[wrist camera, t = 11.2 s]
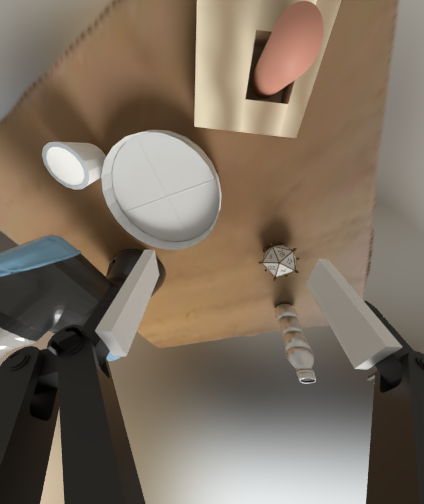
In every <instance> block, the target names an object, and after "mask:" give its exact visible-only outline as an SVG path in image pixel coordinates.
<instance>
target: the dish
mask: <svg viewBox="0 0 424 504" xmlns="http://www.w3.org/2000/svg"><path fill="white" fill-rule="evenodd" d="M101 179H102V190H103V194H104V197H105V200H106V203H107V205H108V208H109V209H110V211H111V212H112V214H113V216H114V217H115V219H116V220H117V221H118V223H119V224H120V225H121V226H122V227H123V228H124V229H125V230H126V231H127V232H128V233H130V234H131V235H132V236H134V237H135V238H136V239H138V240H140V241H142V242H144V243H146V244H148V245H150V246H153V247H157V248H160V249H168V250H178V249H185V248H188V247H191V246H193V245H196V244H198V243H199V242H200V241H202V240H203V239H204V238H206V237H207V236H208V234H209V233H210V232H211V230H212V229H213V228H214V226H215V223H216V221H217V218H218V215H219V211H220V206H221V187H220V181H219V176H218V174H217V172H216V170H215V167H214V165H213V163H212V161H211V160H210V159H209V157H208V156H207V155H206V154H205V152H204V151H203V150H202V149H201V148H200V147H199V146H198V145H196V144H195V143H194V142H192V141H191V140H190V139H188V138H187V137H185V136H183V135H180V134H177V133H175V132H172V131H167V130H147V131H143V132H139V133H136V134H132V135H129V136H125V137H124V138H123V139H122V140H120V141H119V142H118V143H117V144H115V145H114V146H113V147H112V148H111V150H110V152H109V153H108V155H107V157H106V158H105V160H104V165H103V169H102V174H101Z"/></svg>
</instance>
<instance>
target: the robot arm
mask: <svg viewBox="0 0 424 504" xmlns="http://www.w3.org/2000/svg"><path fill="white" fill-rule="evenodd" d="M165 276H166V273H165V269H164V267H163V265H162V264H161V262H160V261H159V260H158V259H156V255H155V250H144V251H141V250H136V249H127V250H123V251H120V252H118V253H117V254H116V255H115V256H114V258H113V259H112V260H111V262H110V264H109V267H108V271H107V274H106V277H105V276H104V275H103V274H102V273H101V272H100V271H99V270H98V269H97V268H96V267H95V266H93V265H92V264H91V263H90V262H89V261H88V260H87V259H86V258H85V257H84V256H83V255H82V254H81V251H80V250H77V249H75V248H74V247H73V246H72V245H71V244H69V243H68V242H67V241H66V240H65V239H63V238H62V237H59V236H55V235H49V236H44V237H41V238H38V239H35V240H32V241H30V242H27V243H25V244H22V245H20V246H17V247H14V248H12V249H9V250H7V251H5V252H2V253H0V359H1V358H2V357H3V356H4V355H5V354H7V353H8V352H9V351H10V350H12V349H14V348H17V347H21V346H25V345H28V344H33V343H35V342H37V340H39V339H40V338H41V337H42V336H43V335H44V334H45V333H46V332H47V331H51V332H53V333H55V334H54V335H53V336H52V338H51V339H50V341H49V342H48V346H47V349H43V350H39V349H38V348H37V347H33V346H30V347H24V348H22V349H20V350H18V351H16V352H14V353H13V354H12V355H10V356H9V357H8V358H7V359H6V360H5V361H4V362H3V363H2V364H1V366H0V504H40V501H41V496H42V491H43V485H44V481H45V475H46V470H47V465H48V461H49V456H50V451H51V446H52V440H53V436H54V430H55V426H56V421H57V415H58V410H59V408H60V424H61V445H62V464H63V482H64V500H65V504H145V500H144V497H143V493H142V489H141V485H140V482H139V478H138V474H137V470H136V466H135V462H134V459H133V455H132V451H131V448H130V443H129V440H128V436H127V432H126V429H125V425H124V421H123V417H122V413H121V410H120V406H119V402H118V398H117V394H116V391H115V387H114V383H113V379H112V376H111V372H110V368H109V364H108V361H113V360H116V359H118V358H120V357H121V356H126V355H127V353H128V351H129V349H130V346H131V344H132V341H133V339H134V336H135V334H136V331H137V329H138V326H139V324H140V321H141V319H142V317H143V314H144V312H145V309H146V307H147V304H148V302H149V299H150V298H151V297H152V296H153V295H154V293H155V292H156V291H157V290H158V289H159V288H160V287H161V286H162V284H163V282H164V279H165ZM306 285H307V286H308V288H309V290H310V292H311V293H312V295H313V297H314V299H315V300H316V302H317V304H318V306H319V307H320V309H321V311H322V313H323V314H324V316H325V318H326V320H327V321H328V323H329V325H330V326H331V328H332V330H333V332H334V334H335V335H336V337H337V339H338V341H339V342H340V344H341V346H342V348H343V349H344V351H345V353H346V354H347V356H348V358H349V360H350V361H351V363H352V365H353V366H354V368H355V369H369V368H371V367H372V366H374V365H375V366H376V367H377V369H378V371H377V372H375V373H373V374H372V375H370V376H368V378H367V380H369V381H370V380H372V379H374V378H375V382H373V384H375V385H374V400H373V413H372V427H371V442H370V455H369V471H368V484H367V498H366V504H424V354H422V353H420V352H416V351H414V350H413V349H412V348H411V347H410V346H409V345H408V344H407V343H406V342H405V340H404V339H403V338H402V337H401V336H400V335H399V334H398V332H397V331H396V330H395V329H394V328H393V327H392V326H391V325H390V324H389V323H388V321H387V320H386V319H385V318H384V317H383V315H382V314H381V313H380V312H379V311H378V310H377V309H376V308H375V307H374V306H372V305H371V304H370V303H369V302H367V301H363V300H362V299H361V297H360V296H359V295H358V294H357V293H356V292H355V290H354V289H353V288H352V287H351V286H350V284H349V283H348V282H347V281H346V280H345V279H344V277H343V276H342V275H341V274H340V273H339V272H338V270H337V269H336V268H335V267H334V266H333V265H332V263H331V262H330V261H329V260H328V259H318V261H317V263H316V265H315V267H314V268H313V270H312V272H311V274H310V276H309V278H308V279H307V281H306Z"/></svg>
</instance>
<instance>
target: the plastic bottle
mask: <svg viewBox="0 0 424 504" xmlns="http://www.w3.org/2000/svg"><path fill="white" fill-rule="evenodd" d="M275 316H276V318H277V321H278V322H279V325H280V328H281V330H282V333H283V338H284V342H285V349H286V355H287V358H288V360H289V361H290V363H291V364H292V365H293V366H294V367H295V368H296V369H297V375H298V378H299V381H300V382H302V383H313V382H316V378H315V375H314V371H313V370H312V366H313V362H314V355H313V352H312V350H311V348H310V347H309V345H308V343H307V341H306V339H305V337H304V335H303V332H302V330H301V327H300V324H299V320H298V314H297V311H296V309H295V308H294V307H293V306H292V305H290V304H280V305H278V306H277V307H276V308H275Z"/></svg>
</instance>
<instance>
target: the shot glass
mask: <svg viewBox="0 0 424 504" xmlns="http://www.w3.org/2000/svg"><path fill="white" fill-rule="evenodd" d="M42 157H43V161H44V165H45V166H46V168H47V170H48V171H49V173H50V174H51V175H52V176H53V177H54V178H55V179H56V180H57V181H58V182H59V183H61V184H62V185H64V186H65V187H68V188H71V189H74V190H77V189H83V188H85V187H86V186H88V185H89V184H91V183H93V182H94V181H96V180H98V179H99V178H101V174H102V169H103V165H104V160H105V158H106V155H105V154H104V153H103V151H102V150H101V149H99V148H98V147H97V146H96V145H93V144H90V143H75V142H48V143H47V144H46V145H45V146H44V147H43V151H42Z"/></svg>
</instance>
